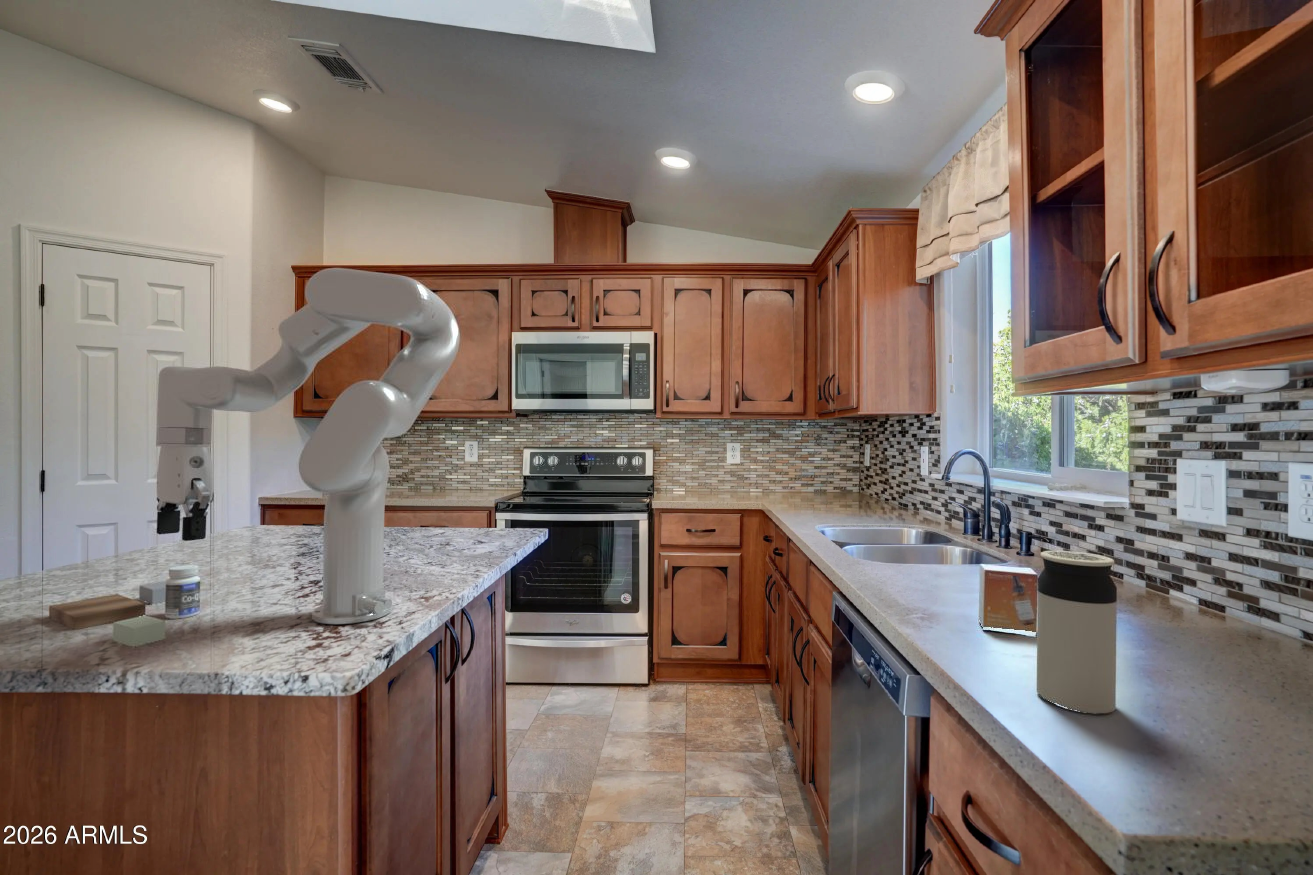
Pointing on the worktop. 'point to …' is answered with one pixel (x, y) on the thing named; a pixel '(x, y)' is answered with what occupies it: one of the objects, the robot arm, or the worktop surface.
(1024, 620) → the small box
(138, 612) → the walnut block
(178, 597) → the pill bottle
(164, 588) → the grey brick
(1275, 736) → the worktop surface
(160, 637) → the sage brick
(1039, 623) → the travel mug
